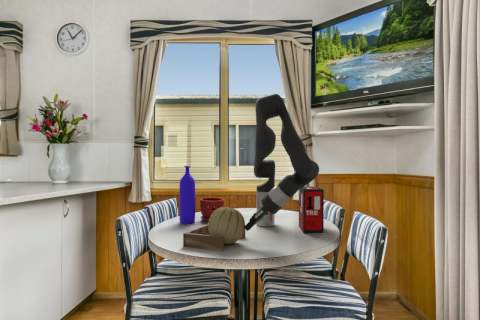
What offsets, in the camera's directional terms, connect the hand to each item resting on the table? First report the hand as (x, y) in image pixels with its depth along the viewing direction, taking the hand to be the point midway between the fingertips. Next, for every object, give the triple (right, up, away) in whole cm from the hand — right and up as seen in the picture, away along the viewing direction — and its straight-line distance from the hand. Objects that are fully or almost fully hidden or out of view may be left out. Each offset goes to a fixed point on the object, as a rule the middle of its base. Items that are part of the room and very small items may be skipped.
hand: (246, 228), depth 130 cm
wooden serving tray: (-12, -6, +5) cm, 14 cm away
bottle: (-30, -6, +45) cm, 54 cm away
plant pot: (-18, -6, +51) cm, 55 cm away
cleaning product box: (+31, -6, +28) cm, 43 cm away
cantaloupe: (-8, -6, +1) cm, 10 cm away
